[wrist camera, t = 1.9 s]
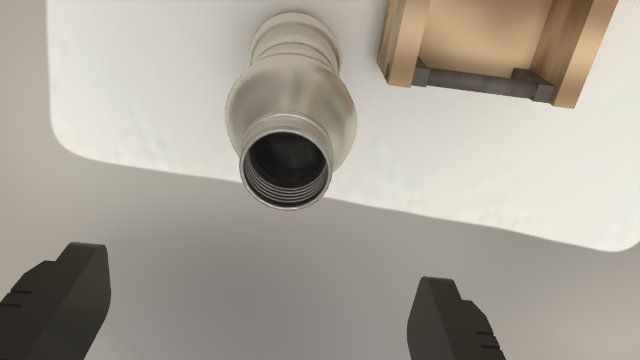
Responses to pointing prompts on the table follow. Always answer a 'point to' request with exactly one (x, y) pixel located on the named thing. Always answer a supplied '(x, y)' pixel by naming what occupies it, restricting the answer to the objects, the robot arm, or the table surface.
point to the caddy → (495, 45)
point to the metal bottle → (291, 113)
